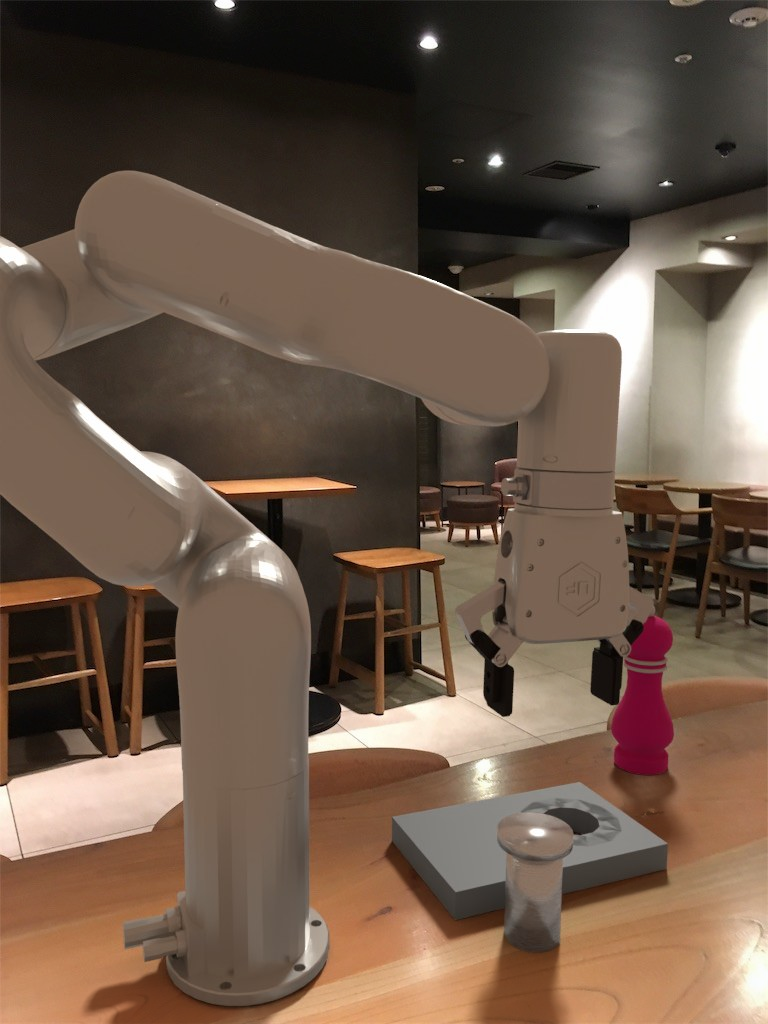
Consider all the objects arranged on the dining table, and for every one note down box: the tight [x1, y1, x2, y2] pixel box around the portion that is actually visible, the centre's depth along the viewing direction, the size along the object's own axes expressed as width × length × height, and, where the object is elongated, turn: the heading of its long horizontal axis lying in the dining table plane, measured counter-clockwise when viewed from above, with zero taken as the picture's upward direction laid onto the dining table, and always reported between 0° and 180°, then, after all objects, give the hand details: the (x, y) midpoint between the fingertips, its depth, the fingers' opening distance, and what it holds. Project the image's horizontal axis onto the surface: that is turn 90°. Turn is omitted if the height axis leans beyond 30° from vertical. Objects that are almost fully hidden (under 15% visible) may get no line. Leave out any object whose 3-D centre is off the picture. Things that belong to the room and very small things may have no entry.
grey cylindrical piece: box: [497, 812, 574, 953], centre depth 68 cm, size 6×6×9 cm
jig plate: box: [391, 781, 669, 921], centre depth 80 cm, size 22×14×2 cm, turn 112°
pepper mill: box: [610, 606, 675, 776], centre depth 100 cm, size 7×7×20 cm
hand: (552, 705), depth 67 cm, fingers open, 9 cm apart
